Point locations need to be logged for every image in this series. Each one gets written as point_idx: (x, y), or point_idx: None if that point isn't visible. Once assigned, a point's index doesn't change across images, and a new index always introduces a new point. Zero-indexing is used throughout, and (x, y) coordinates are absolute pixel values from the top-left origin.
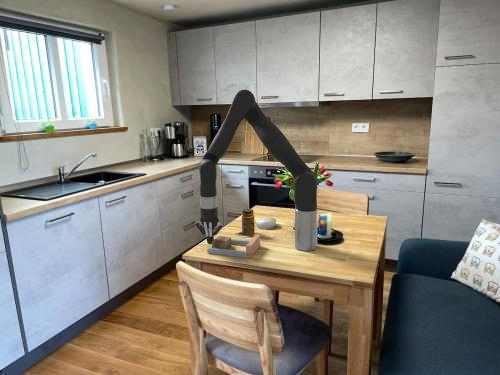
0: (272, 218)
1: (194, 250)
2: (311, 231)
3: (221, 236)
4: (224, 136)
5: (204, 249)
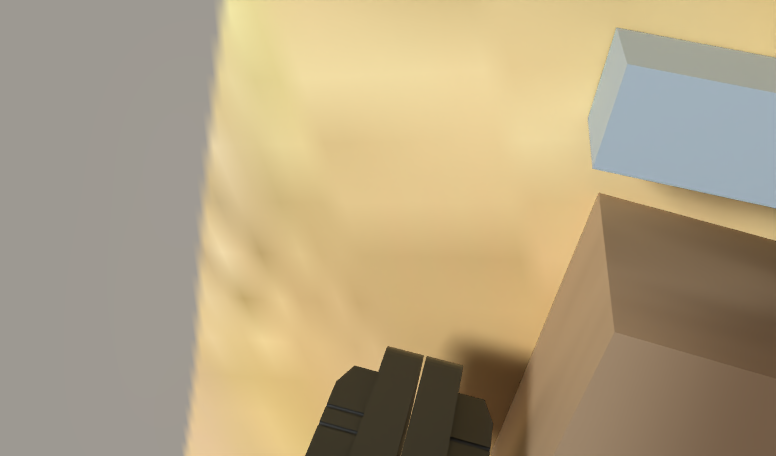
0: None
1: (207, 443)
2: None
3: (721, 378)
4: None
5: None
